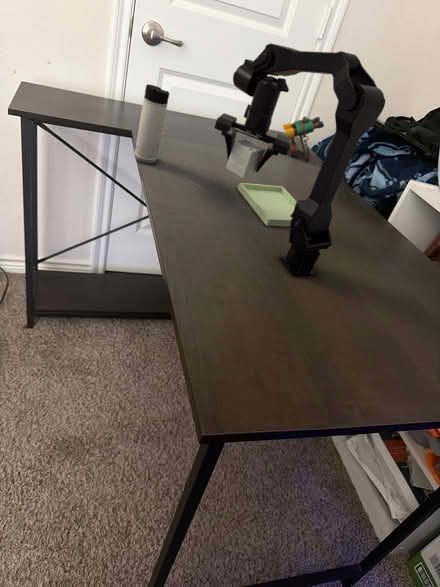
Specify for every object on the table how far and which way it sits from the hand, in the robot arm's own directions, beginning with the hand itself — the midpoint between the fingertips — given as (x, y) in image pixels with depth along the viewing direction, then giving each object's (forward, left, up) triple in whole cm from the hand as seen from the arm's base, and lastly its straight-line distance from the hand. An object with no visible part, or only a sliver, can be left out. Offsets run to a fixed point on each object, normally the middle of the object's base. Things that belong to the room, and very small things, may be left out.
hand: (243, 166), depth 110 cm
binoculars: (+41, -45, -11) cm, 62 cm away
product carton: (0, 0, -2) cm, 2 cm away
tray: (-1, -14, -11) cm, 17 cm away
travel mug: (+22, +18, -11) cm, 31 cm away
